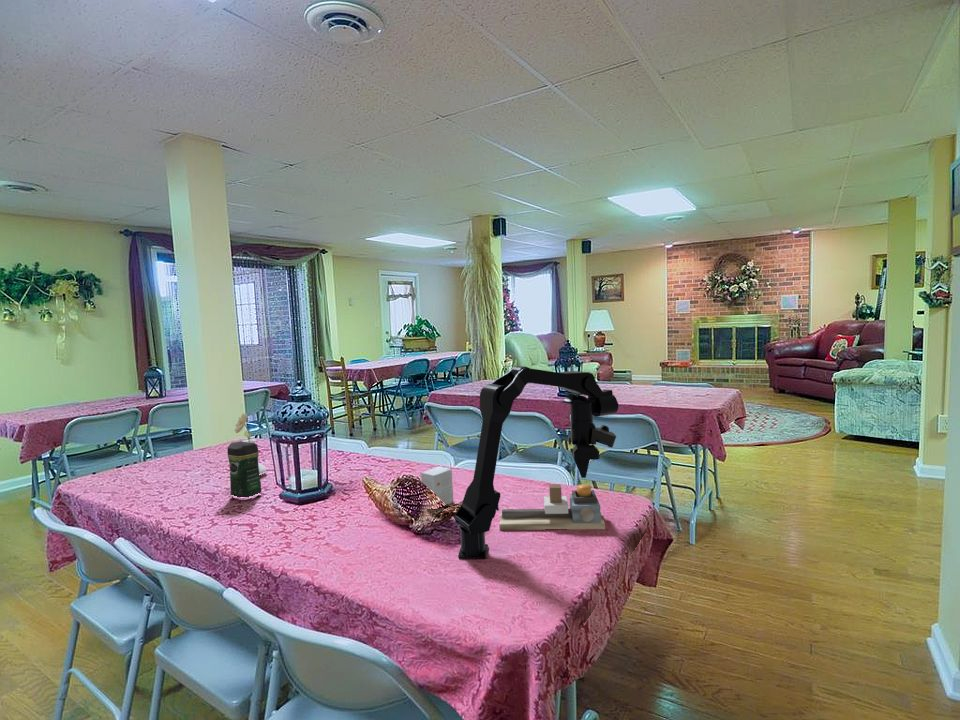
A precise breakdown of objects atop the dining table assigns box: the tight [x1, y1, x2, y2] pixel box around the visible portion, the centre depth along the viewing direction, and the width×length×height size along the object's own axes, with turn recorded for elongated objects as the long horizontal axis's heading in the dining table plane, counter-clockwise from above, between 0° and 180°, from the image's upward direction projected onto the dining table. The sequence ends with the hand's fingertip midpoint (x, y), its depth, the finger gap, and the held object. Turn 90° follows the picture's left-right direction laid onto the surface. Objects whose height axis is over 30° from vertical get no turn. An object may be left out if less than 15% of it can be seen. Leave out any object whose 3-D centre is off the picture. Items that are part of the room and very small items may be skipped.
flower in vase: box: [234, 412, 268, 474], centre depth 188 cm, size 13×11×25 cm
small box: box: [420, 465, 454, 505], centre depth 150 cm, size 8×6×10 cm
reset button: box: [576, 483, 592, 497], centre depth 132 cm, size 4×4×2 cm
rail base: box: [499, 489, 606, 531], centre depth 134 cm, size 10×27×8 cm, turn 85°
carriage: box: [543, 483, 569, 514], centre depth 133 cm, size 7×6×6 cm
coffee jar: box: [227, 440, 262, 497], centre depth 165 cm, size 10×8×19 cm
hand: (583, 477), depth 132 cm, fingers closed
